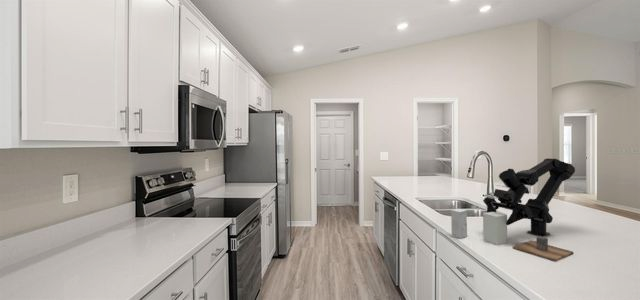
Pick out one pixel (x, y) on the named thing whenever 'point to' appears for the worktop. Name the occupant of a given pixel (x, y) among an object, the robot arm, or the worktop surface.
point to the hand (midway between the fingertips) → (496, 221)
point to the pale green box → (495, 228)
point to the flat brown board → (543, 249)
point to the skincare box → (459, 223)
